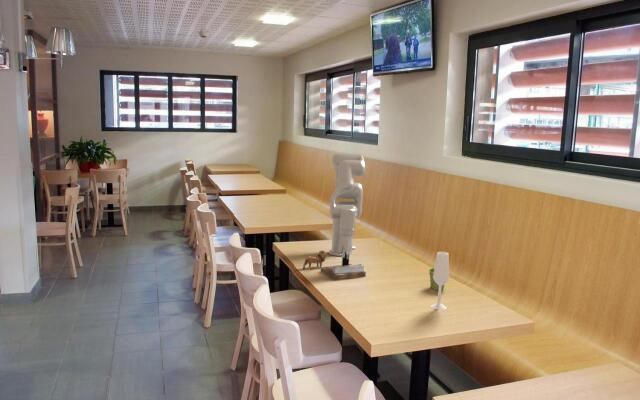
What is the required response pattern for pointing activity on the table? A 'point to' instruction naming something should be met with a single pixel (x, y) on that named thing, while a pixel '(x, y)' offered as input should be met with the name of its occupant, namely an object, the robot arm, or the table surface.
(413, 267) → the table surface
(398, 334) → the table surface
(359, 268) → the folding leg
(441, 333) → the table surface
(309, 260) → the lion figurine
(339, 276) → the stool seat
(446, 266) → the champagne flute
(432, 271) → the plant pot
